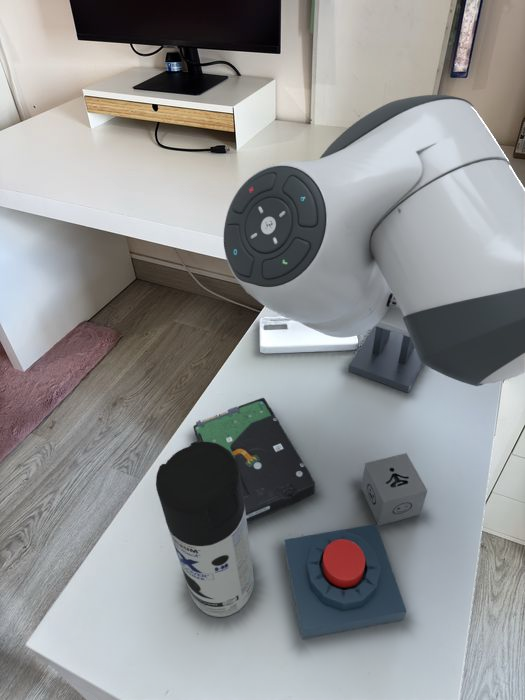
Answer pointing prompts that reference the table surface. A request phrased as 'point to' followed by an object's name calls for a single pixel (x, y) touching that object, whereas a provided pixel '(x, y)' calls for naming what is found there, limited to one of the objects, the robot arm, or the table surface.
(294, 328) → the phone case
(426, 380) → the table surface
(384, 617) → the button box
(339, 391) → the table surface
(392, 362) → the bracket
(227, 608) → the spray can
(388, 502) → the dice cube
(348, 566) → the button
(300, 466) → the disk drive
